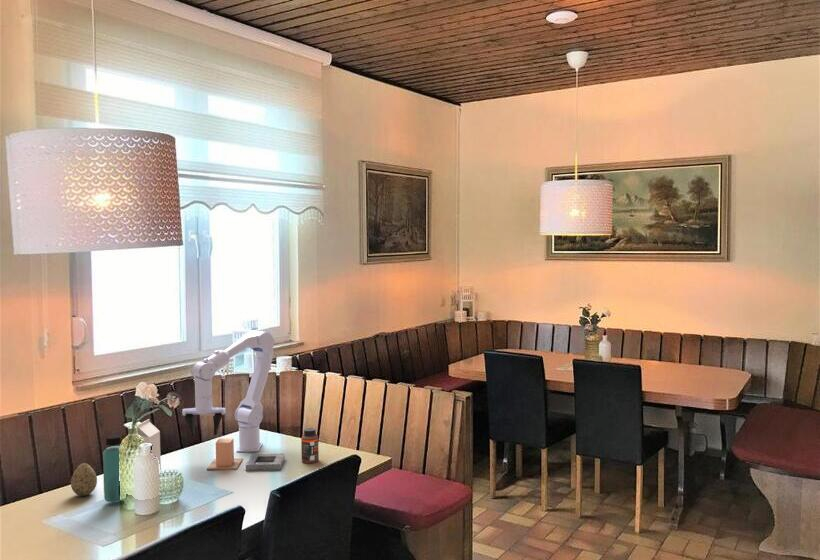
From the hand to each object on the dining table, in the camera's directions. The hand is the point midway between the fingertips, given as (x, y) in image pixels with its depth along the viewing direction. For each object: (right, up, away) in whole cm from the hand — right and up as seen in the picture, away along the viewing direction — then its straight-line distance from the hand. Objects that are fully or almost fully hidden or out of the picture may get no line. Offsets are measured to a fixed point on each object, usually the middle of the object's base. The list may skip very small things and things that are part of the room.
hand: (204, 434), depth 236 cm
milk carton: (-14, -11, -17) cm, 25 cm away
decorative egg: (-27, -12, -31) cm, 43 cm away
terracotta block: (+8, -9, -4) cm, 13 cm away
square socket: (+22, -10, -4) cm, 25 cm away
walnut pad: (+8, -10, -4) cm, 13 cm away
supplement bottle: (+37, -9, 0) cm, 38 cm away
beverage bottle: (-15, -12, -37) cm, 42 cm away
